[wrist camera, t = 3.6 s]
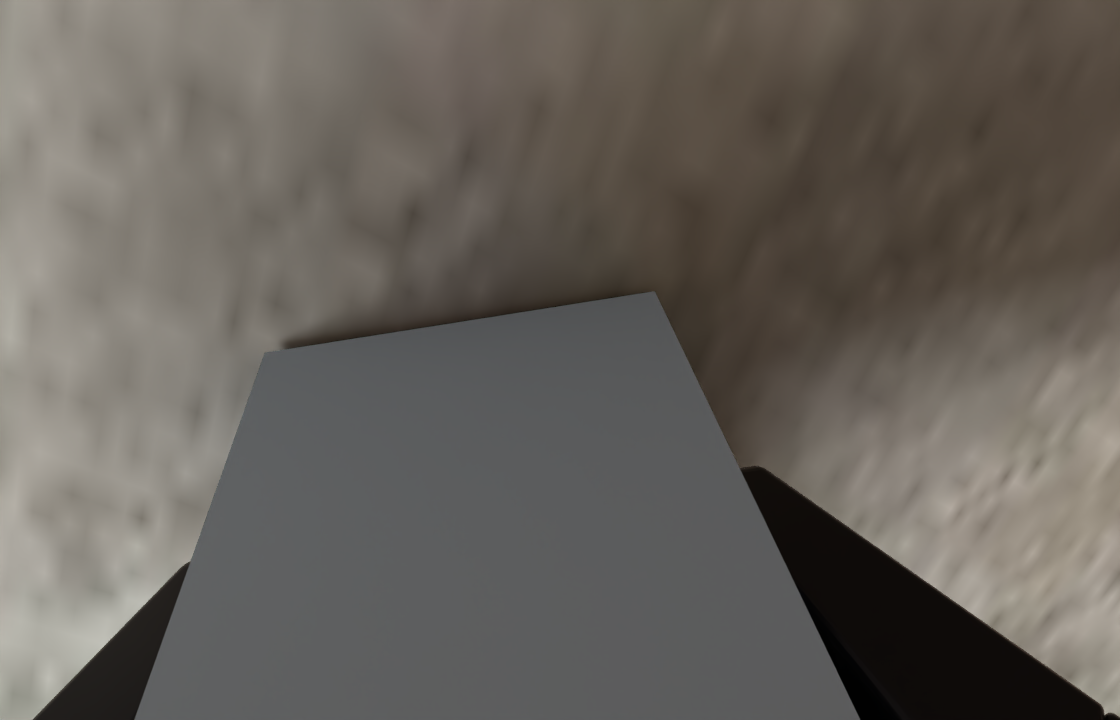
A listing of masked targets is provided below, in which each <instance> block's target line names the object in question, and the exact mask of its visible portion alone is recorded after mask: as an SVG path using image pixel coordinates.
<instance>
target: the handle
mask: <svg viewBox="0 0 1120 720" xmlns="http://www.w3.org/2000/svg"><path fill="white" fill-rule="evenodd" d="M134 720H860V718H859V716H858V714H857V712H856V710H855V708H854V706H853V704H852V702H851V700H850V698H849V695H848V693H847V691H846V689H845V687H844V685H843V683H842V681H841V679H840V677H839V675H838V673H837V670H836V668H835V666H834V664H833V662H832V660H831V658H830V656H829V654H828V652H827V650H826V647H825V645H824V643H823V641H822V639H821V637H820V635H819V633H818V631H817V629H816V627H815V625H814V622H813V620H812V618H811V616H810V614H809V612H808V610H807V608H806V606H805V604H804V602H803V600H802V597H801V595H800V593H799V591H798V589H797V587H796V585H795V583H794V581H793V579H792V577H791V574H790V572H789V570H788V568H787V566H786V564H785V562H784V560H783V558H782V556H781V554H780V552H779V549H778V547H777V545H776V543H775V541H774V539H773V537H772V535H771V533H770V531H769V529H768V527H767V524H766V522H765V520H764V518H763V516H762V514H761V512H760V510H759V508H758V506H757V504H756V501H755V499H754V497H753V495H752V493H751V491H750V489H749V487H748V485H747V483H746V481H745V479H744V476H743V474H742V472H741V470H740V468H739V466H738V464H737V462H736V460H735V458H734V456H733V454H732V451H731V449H730V447H729V445H728V443H727V441H726V439H725V437H724V435H723V433H722V431H721V428H720V426H719V424H718V422H717V420H716V418H715V416H714V414H713V412H712V410H711V408H710V406H709V403H708V401H707V399H706V397H705V395H704V393H703V391H702V389H701V387H700V385H699V383H698V381H697V378H696V376H695V374H694V372H693V370H692V368H691V366H690V364H689V362H688V360H687V358H686V355H685V353H684V351H683V349H682V347H681V345H680V343H679V341H678V339H677V337H676V335H675V333H674V330H673V328H672V326H671V324H670V322H669V320H668V318H667V316H666V314H665V312H664V310H663V308H662V305H661V303H660V301H659V299H658V297H657V295H656V293H655V291H653V292H647V293H641V294H634V295H628V296H621V297H615V298H609V299H602V300H596V301H590V302H583V303H577V304H571V305H564V306H558V307H552V308H545V309H539V310H533V311H526V312H520V313H514V314H507V315H501V316H495V317H488V318H482V319H476V320H469V321H463V322H457V323H450V324H444V325H438V326H431V327H425V328H419V329H412V330H406V331H399V332H393V333H387V334H380V335H374V336H368V337H361V338H355V339H349V340H342V341H336V342H330V343H323V344H317V345H311V346H304V347H298V348H292V349H285V350H279V351H273V352H266V353H265V354H264V357H263V359H262V362H261V365H260V368H259V371H258V373H257V376H256V379H255V382H254V385H253V387H252V390H251V393H250V396H249V399H248V402H247V404H246V407H245V410H244V413H243V416H242V418H241V421H240V424H239V427H238V430H237V432H236V435H235V438H234V441H233V444H232V447H231V449H230V452H229V455H228V458H227V461H226V463H225V466H224V469H223V472H222V475H221V478H220V480H219V483H218V486H217V489H216V492H215V494H214V497H213V500H212V503H211V506H210V508H209V511H208V514H207V517H206V520H205V523H204V525H203V528H202V531H201V534H200V537H199V539H198V542H197V545H196V548H195V551H194V553H193V556H192V559H191V562H190V565H189V568H188V570H187V573H186V576H185V579H184V582H183V584H182V587H181V590H180V593H179V596H178V598H177V601H176V604H175V607H174V610H173V613H172V615H171V618H170V621H169V624H168V627H167V629H166V632H165V635H164V638H163V641H162V643H161V646H160V649H159V652H158V655H157V658H156V660H155V663H154V666H153V669H152V672H151V674H150V677H149V680H148V683H147V686H146V689H145V691H144V694H143V697H142V700H141V703H140V705H139V708H138V711H137V714H136V717H135V719H134Z"/></svg>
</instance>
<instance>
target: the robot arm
mask: <svg viewBox="0 0 1120 720" xmlns="http://www.w3.org/2000/svg"><path fill="white" fill-rule="evenodd" d="M740 470H741V472H742V474H743V476H744V479H745V481H746V483H747V485H748V487H749V489H750V491H751V493H752V495H753V497H754V499H755V501H756V504H757V506H758V508H759V510H760V512H761V514H762V516H763V518H764V520H765V522H766V524H767V527H768V529H769V531H770V533H771V535H772V537H773V539H774V541H775V543H776V545H777V547H778V549H779V552H780V554H781V556H782V558H783V560H784V562H785V564H786V566H787V568H788V570H789V572H790V574H791V577H792V579H793V581H794V583H795V585H796V587H797V589H798V591H799V593H800V595H801V597H802V600H803V602H804V604H805V606H806V608H807V610H808V612H809V614H810V616H811V618H812V620H813V622H814V625H815V627H816V629H817V631H818V633H819V635H820V637H821V639H822V641H823V643H824V645H825V647H826V650H827V652H828V654H829V656H830V658H831V660H832V662H833V664H834V666H835V668H836V670H837V673H838V675H839V677H840V679H841V681H842V683H843V685H844V687H845V689H846V691H847V693H848V695H849V698H850V700H851V702H852V704H853V706H854V708H855V710H856V712H857V714H858V716H859V718H860V720H1120V717H1119V716H1117V715H1116V714H1113V713H1107V714H1106V715H1105V716H1104V709H1103V707H1102V706H1101V704H1099V703H1098V702H1097V701H1095V700H1094V699H1092V698H1091V697H1089V696H1088V695H1087V694H1085V693H1084V692H1082V691H1081V690H1080V689H1078V688H1077V687H1075V686H1074V685H1072V684H1071V683H1070V682H1068V681H1067V680H1065V679H1064V678H1062V677H1061V676H1060V675H1058V674H1057V673H1055V672H1054V671H1052V670H1051V669H1050V668H1048V667H1047V666H1045V665H1044V664H1042V663H1041V662H1040V661H1038V660H1037V659H1035V658H1034V657H1033V656H1031V655H1030V654H1028V653H1027V652H1025V651H1024V650H1023V649H1021V648H1020V647H1018V646H1017V645H1015V644H1014V643H1013V642H1011V641H1010V640H1008V639H1007V638H1005V637H1004V636H1003V635H1001V634H1000V633H998V632H997V631H996V630H994V629H993V628H991V627H990V626H988V625H987V624H986V623H984V622H983V621H981V620H980V619H978V618H977V617H976V616H974V615H973V614H971V613H970V612H968V611H967V610H966V609H964V608H963V607H961V606H960V605H958V604H957V603H956V602H954V601H953V600H951V599H950V598H949V597H947V596H946V595H944V594H943V593H941V592H940V591H939V590H937V589H936V588H934V587H933V586H931V585H930V584H929V583H927V582H926V581H924V580H923V579H921V578H920V577H919V576H917V575H916V574H914V573H913V572H912V571H910V570H909V569H907V568H906V567H904V566H903V565H902V564H900V563H899V562H897V561H896V560H894V559H893V558H892V557H890V556H889V555H887V554H886V553H884V552H883V551H882V550H880V549H879V548H877V547H876V546H874V545H873V544H872V543H870V542H869V541H867V540H866V539H865V538H863V537H862V536H860V535H859V534H857V533H856V532H855V531H853V530H852V529H850V528H849V527H847V526H846V525H845V524H843V523H842V522H840V521H839V520H837V519H836V518H835V517H833V516H832V515H830V514H829V513H828V512H826V511H825V510H823V509H822V508H820V507H819V506H818V505H816V504H815V503H813V502H812V501H810V500H809V499H808V498H806V497H805V496H803V495H802V494H800V493H799V492H798V491H796V490H795V489H793V488H792V487H790V486H789V485H788V484H786V483H785V482H783V481H782V480H781V479H779V478H778V477H776V476H775V475H773V474H772V473H771V472H769V471H768V470H766V469H764V468H762V467H759V466H751V467H745V468H740ZM190 562H191V561H190ZM190 562H188V563H186V564H185V565H184V566H182V567H181V568H180V569H179V570H178V571H177V572H176V573H175V574H174V575H173V576H172V577H171V578H170V579H169V580H168V581H167V582H166V583H165V584H164V585H163V586H162V587H161V588H160V590H159V591H158V592H157V593H156V594H155V595H154V596H153V597H152V598H151V599H150V600H149V601H148V602H147V603H146V604H145V605H144V606H143V607H142V608H141V609H140V610H139V611H138V612H137V613H136V614H135V615H134V616H133V617H132V618H131V619H130V620H129V621H128V622H127V623H126V624H125V625H124V626H123V627H122V628H121V630H120V631H119V632H118V633H117V634H116V635H115V636H114V637H113V638H112V639H111V640H110V641H109V642H108V643H107V644H106V645H105V646H104V647H103V648H102V649H101V650H100V651H99V652H98V653H97V654H96V655H95V656H94V657H93V658H92V659H91V660H90V661H89V662H88V663H87V664H86V665H85V666H84V667H83V668H82V670H81V671H80V672H79V673H78V674H77V675H76V676H75V677H74V678H73V679H72V680H71V681H70V682H69V683H68V684H67V685H66V686H65V687H64V688H63V689H62V690H61V691H60V692H59V693H58V694H57V695H56V696H55V697H54V698H53V699H52V700H51V701H50V702H49V703H48V704H47V705H46V706H45V707H44V708H43V709H42V711H41V712H40V713H39V714H38V715H37V716H36V717H35V718H34V719H33V720H134V719H135V717H136V714H137V711H138V708H139V705H140V703H141V700H142V697H143V694H144V691H145V689H146V686H147V683H148V680H149V677H150V674H151V672H152V669H153V666H154V663H155V660H156V658H157V655H158V652H159V649H160V646H161V643H162V641H163V638H164V635H165V632H166V629H167V627H168V624H169V621H170V618H171V615H172V613H173V610H174V607H175V604H176V601H177V598H178V596H179V593H180V590H181V587H182V584H183V582H184V579H185V576H186V573H187V570H188V568H189V565H190Z"/></svg>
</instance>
